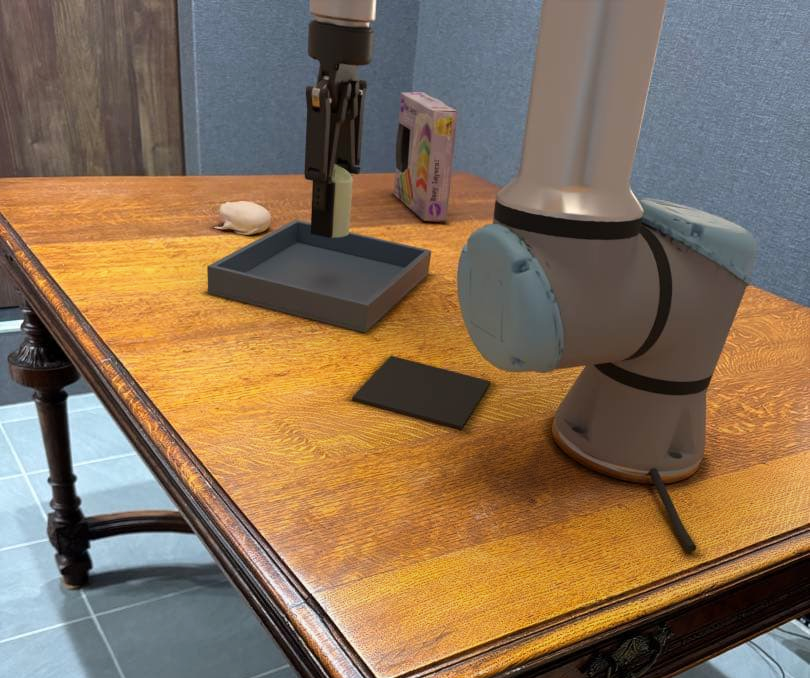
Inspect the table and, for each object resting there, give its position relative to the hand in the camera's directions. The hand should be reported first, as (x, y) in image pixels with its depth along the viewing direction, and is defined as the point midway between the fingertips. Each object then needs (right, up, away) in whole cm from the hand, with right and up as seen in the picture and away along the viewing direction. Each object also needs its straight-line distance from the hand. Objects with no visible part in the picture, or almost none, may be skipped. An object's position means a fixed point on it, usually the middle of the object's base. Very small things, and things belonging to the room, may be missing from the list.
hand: (330, 229), depth 106 cm
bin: (-1, -6, +5) cm, 7 cm away
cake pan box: (+12, +20, +41) cm, 47 cm away
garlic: (-15, +8, +19) cm, 26 cm away
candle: (0, 0, 0) cm, 1 cm away
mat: (+12, -25, -18) cm, 33 cm away
